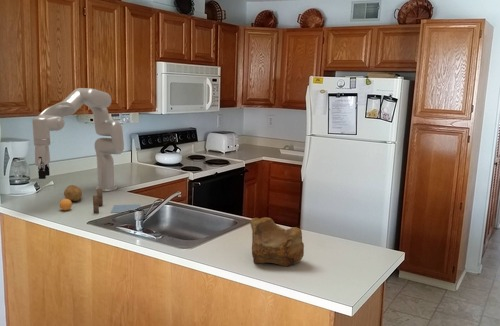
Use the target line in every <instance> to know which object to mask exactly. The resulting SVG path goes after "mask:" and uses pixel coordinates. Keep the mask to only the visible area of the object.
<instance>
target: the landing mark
mask: <svg viewBox="0 0 500 326" xmlns="http://www.w3.org/2000/svg"><path fill="white" fill-rule="evenodd" d="M139 207H140V208H141V203H137V204H135V203H134V204H114V205H113V206H112V208H111V210H110V214H115V213H117V214H118V213H121V212H124V211H127V210H135V209H137V208H139ZM124 213H125V212H124ZM121 214H122V213H121Z"/></svg>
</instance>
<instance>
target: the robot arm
mask: <svg viewBox="0 0 500 326" xmlns="http://www.w3.org/2000/svg"><path fill="white" fill-rule="evenodd" d="M112 101H113V100H112V97H111V95H110V94H109V93H108V92H105V91H102V90H99V89H95V88H89V87H88V88H87V87H86V88H85V87H79V88H78V87H77V88H75V89H74V90H73V91H71V92H70V93H69V94H68V95H67V96H66V97H65V98H64V99H63V100H61V101H60V102H57V103H55V104H53V105H51V106H49V107H47V108H45V109H44V110H42V112H40V113H39V114H38V115H37V116H36V117H33V118H32V119H31V120H32V122H31V123H32V135H33V146H34V165H35V166H37V171H38V179H39V180H45V179H46V177H48V176H50V175H51V173H50V161H51V155H50V153H51V151H50V146H51V133H50V132H51V131H56V132H57V131H60V130H62V129H63V128H64V127H65V119H64V118H63V117H68V116H72V115H74V114H75V113H77V112H78V110H80V108H81V107H82V106H83V105H85V106H86V107H88V108H89V109H90V110H91V112H92V115H93V121H94V123H93V124H94V130H95V134H96V135H98V136H102V137H98V138H97V139H96V140H95V142H94V150H95V154H96V164H97V167H96V169H97V171H96V172H97V186H96V187H95V191H97V189H102V192H113V191H116V190H118V186H117V185H115V169H114V168H115V166H114V165H115V164H114V158H113V156H112V155H121V154H122V153H123V152H124V149H125V142H124V140H125V139H124V132H123V126H122V124H121V123H120V121H117V120H113V119H112V120H111V119H110V116H109V110H108V108H109V107H110V106H111V104H112Z"/></svg>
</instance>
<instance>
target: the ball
mask: <svg viewBox="0 0 500 326" xmlns="http://www.w3.org/2000/svg"><path fill="white" fill-rule="evenodd" d="M72 205H73V201H70V200H69V199H66V198H63V199H61V200H60V202H59V208H60V209H61V210H62V211H69V210H71V208H72Z"/></svg>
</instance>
